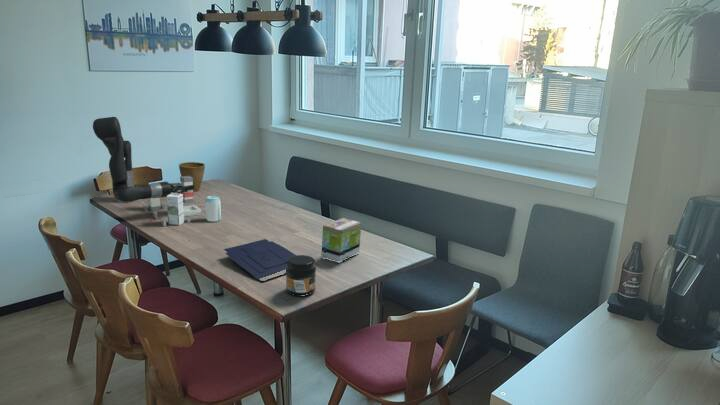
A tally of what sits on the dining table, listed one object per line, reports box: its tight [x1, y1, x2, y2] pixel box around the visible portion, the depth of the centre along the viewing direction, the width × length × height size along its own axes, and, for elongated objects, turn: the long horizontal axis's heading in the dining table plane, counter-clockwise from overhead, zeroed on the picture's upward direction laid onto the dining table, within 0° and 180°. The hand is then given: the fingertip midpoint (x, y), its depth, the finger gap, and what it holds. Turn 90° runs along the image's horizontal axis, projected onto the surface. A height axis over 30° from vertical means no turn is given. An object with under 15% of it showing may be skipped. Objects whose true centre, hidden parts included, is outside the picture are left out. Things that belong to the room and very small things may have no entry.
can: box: [205, 195, 222, 223], centre depth 255 cm, size 7×7×12 cm
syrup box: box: [166, 192, 185, 226], centre depth 247 cm, size 6×6×14 cm
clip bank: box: [142, 202, 191, 227], centre depth 258 cm, size 32×15×2 cm, turn 41°
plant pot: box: [178, 161, 206, 193], centre depth 308 cm, size 15×15×16 cm
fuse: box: [147, 198, 161, 212], centre depth 268 cm, size 5×5×13 cm
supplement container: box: [285, 254, 317, 296], centre depth 181 cm, size 10×10×12 cm
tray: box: [183, 204, 202, 218], centre depth 265 cm, size 10×10×2 cm
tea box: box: [320, 217, 362, 261], centre depth 215 cm, size 15×10×15 cm, turn 148°
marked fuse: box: [179, 176, 195, 204], centre depth 262 cm, size 5×5×13 cm
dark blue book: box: [223, 238, 296, 280], centre depth 206 cm, size 24×30×4 cm
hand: (191, 186), depth 263 cm, fingers closed on marked fuse, 4 cm apart
